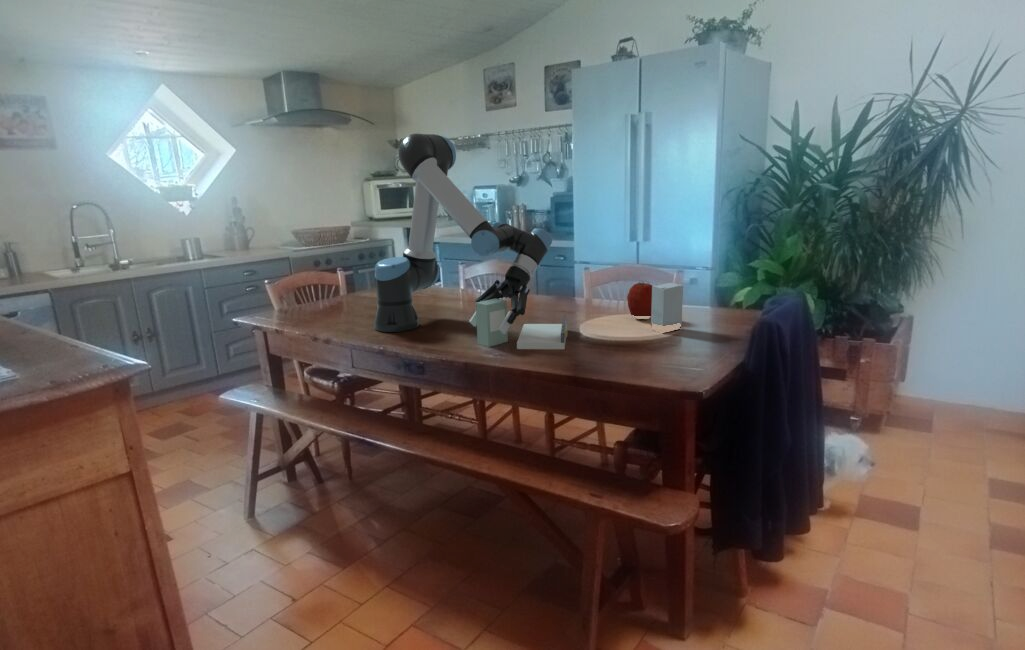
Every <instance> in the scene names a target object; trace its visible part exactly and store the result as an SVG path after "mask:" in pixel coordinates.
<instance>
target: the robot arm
mask: <svg viewBox="0 0 1025 650" xmlns="http://www.w3.org/2000/svg"><path fill="white" fill-rule="evenodd" d="M398 159H399V162H400V164H401V166H402V167H403V169H404V170H405V172H406V173H407V175H408V176H410V178H411V179H412V180H413V181H414V182H415V188H414V197H413V204H412V205H413V206H412V213H411V221H410V222H411V223H410V230H409V239H408V246H407V247H406V248H404V249H403V253H402V256H393V257H390V258H389V257H388V258H384V259H381V260H379V261H377V263H376V264H375V265H374V278H375V288H376V298H377V310H376V313H375V319H374V329H375V330H376V331H378V332H382V333H383V332H384V333H401V332H407V331H411V330H413V329H416V328H418V327H419V326H420V321H419V320H420V319H419V316H418V314H417V312H416V309H415V307H414V305H413V294H412V293H414V292H416V291H417V292H418V291H421V290H426V289H428V288H430V287H432V286H433V285H435V283H436V282H437V281H438V279H439V277H440V272H441V270H440V269H441V268H440V265H439V264H438V260H437V254H436V252H434V251H433V248H434V243H435V242H434V241H435V237H436V236H435V235H436V227H437V219H438V214H439V206H441V208H442V209H444V211H445V212H446V213H447V214H448V215H449V216H450V217H451V219H452V220H453V221H454V222H455V223H456V224H457V225H458V226H459V228H460V229H462V231H464V232H465V234H466V235H467V236H468V237H469V238H470V239H471V241H470V242H471V243H470V245H471V247H472V250H473V251H474V253H476V254H477V255H478V256H483V257H484V256H491V255H495V254H497V253H501V252H505V251H511V252H513V253H516V257H514V260H513V261H512V262H511V265H510V266H509V267H508V269H507V271H506V272H505V274H504V280H503V281H502V282H501V281H500V280H499V279H496V280H495V281H494V283H492V285H490V287H489V288H488V289H487V290H486V291H484V292H483V293H482V294H481V295H480V296H478V297H477V298H476V300H475V303H477V302H481V301H486V300H490V299H495V298H497V299H503V298H508V299H510V305H511V306H510V307H511V309H510V310H509V311H507V315H506V317H505V318H504V320H503V322H502V323H501V325H500V327H499V328H498V329H499V330H500V331H501V332H502V333H503V334H505V333H506V332H507V330H509V328H510V327H511V325H512V324H514V322H515V320H516V319H517V317H519V316H520V315H521V316H524V315H525V313H526V308H527V302H528V295H529V293H530V290H531V289H530V288H529V287H528V284H529V282H530V281H531V278H532V277H533V276H534V274H535V272H536V271H537V269H538V267H539V265H540V264H541V262H542V260H543V259H544V257H545V256H546V255H547V253H548V252H549V250H550V247H551V245H552V243H553V237H552V235H551V234H550V233H549V232H548V231H547V230H546V229H543V228H540V227H535V228H533V229H532V230H531V231H530V232H528V231H526V230H523V229H520V228H518V227H515V226H512V225H510V224H509V223H507V222H506V223H505V222H502V221H496V222H495V223H494V224H491V223H490V222H489V221H488V219H486V218H485V217H484V216H483V214H481V212H480V211H479V210H478V208H476V207H475V206H474V204H472V202H471V201H470V200H469V199H468V198H467V196H465V195H464V193H463V192H462V191H461V190H460V189H459V188H458V186H456V184H455V183H454V181H452V180H451V179H450V178H449V177H448V174H449V173H448V172H449V170H450V169H451V168H453V167H454V165H455V163H456V160H457V151H456V148H455V146H454V144H453V143H452V141H451V140H450V139H449V138H448V137H446V136H443V135H439V134H434V133H433V134H428V133H426V134H425V133H411V134H409V135H407V136H406V137H405V138H403V139H402V140H401V142H400V144H399V147H398ZM468 322H469V324H471V325H472V326H473V327H476V328H477V318H476V309H474V312H473V315H472V316H471V318H470V319H469V321H468Z"/></svg>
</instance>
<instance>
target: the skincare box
mask: <svg viewBox="0 0 1025 650" xmlns="http://www.w3.org/2000/svg"><path fill="white" fill-rule="evenodd" d="M683 295H684V285H682V284H679V283H674V282H667V283H662V284H658V285H657V284H655V285H653V286H652V309H651V317H650V324H651V323H653V324H657V325H662V326H666V325H673V324H677V323H680V324H681V325H682V322H683V318H682V317H683V299H684V298H683V297H684V296H683Z"/></svg>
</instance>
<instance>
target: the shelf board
mask: <svg viewBox="0 0 1025 650" xmlns="http://www.w3.org/2000/svg"><path fill="white" fill-rule="evenodd" d="M567 318H568V317H567V314H563V316H562V321H561V322H562V323H524V324H523V326H522V329H521V330H520V334H519V336H518V339H517V341H516V350H565V347H566V339H567V337H568V325H567V320H568V319H567Z"/></svg>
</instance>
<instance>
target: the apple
mask: <svg viewBox="0 0 1025 650" xmlns="http://www.w3.org/2000/svg"><path fill="white" fill-rule="evenodd" d="M652 286H654V285H653V284H650V283H645V282H637V283H634V284H633V285H632V286H631V287H630V288H629V291H628V293H627V296H626V297H627V298H626V300H627V307H628V310H629V313H630V315H631V316H632V315H634V316H651V309H652Z"/></svg>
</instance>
